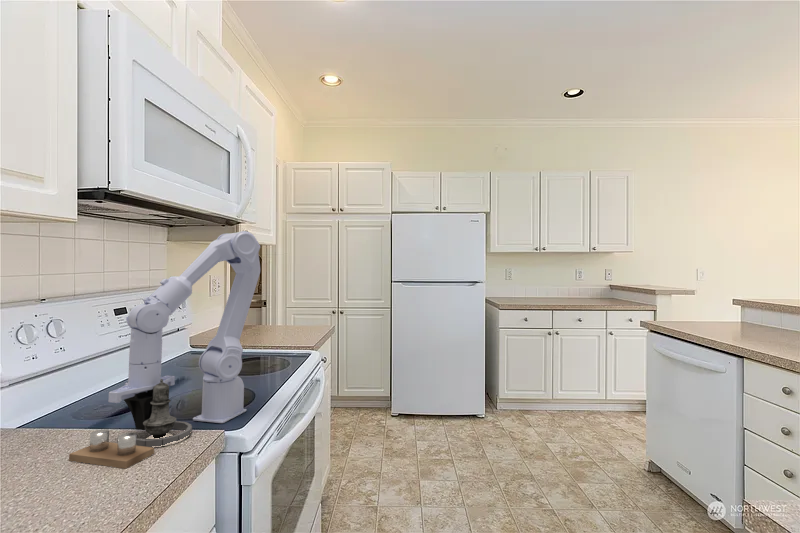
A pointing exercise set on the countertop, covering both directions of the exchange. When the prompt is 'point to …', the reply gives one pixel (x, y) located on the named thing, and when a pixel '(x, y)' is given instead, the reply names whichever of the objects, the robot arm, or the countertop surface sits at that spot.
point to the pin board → (112, 450)
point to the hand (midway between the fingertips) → (142, 428)
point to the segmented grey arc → (163, 441)
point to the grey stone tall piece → (160, 412)
